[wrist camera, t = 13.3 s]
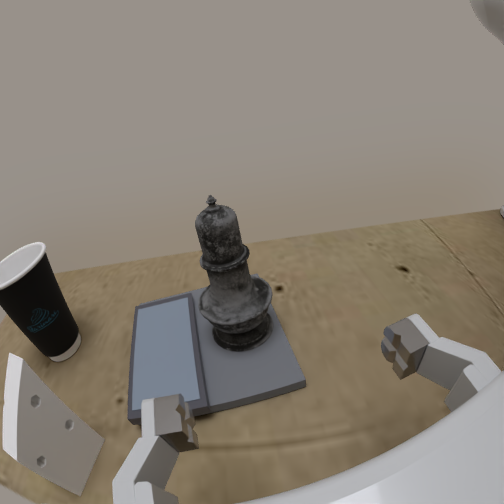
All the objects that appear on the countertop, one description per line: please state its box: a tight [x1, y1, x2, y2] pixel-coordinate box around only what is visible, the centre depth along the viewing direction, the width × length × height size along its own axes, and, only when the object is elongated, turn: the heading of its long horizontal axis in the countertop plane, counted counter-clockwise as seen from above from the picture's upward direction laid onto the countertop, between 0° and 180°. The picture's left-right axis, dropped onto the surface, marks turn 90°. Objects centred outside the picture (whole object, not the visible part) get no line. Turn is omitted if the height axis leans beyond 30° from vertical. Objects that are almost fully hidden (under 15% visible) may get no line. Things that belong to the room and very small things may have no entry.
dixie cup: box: [0, 242, 81, 362], centre depth 24 cm, size 8×8×11 cm
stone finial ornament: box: [195, 195, 273, 352], centre depth 22 cm, size 6×6×12 cm
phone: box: [128, 293, 211, 425], centre depth 23 cm, size 6×13×1 cm, turn 14°
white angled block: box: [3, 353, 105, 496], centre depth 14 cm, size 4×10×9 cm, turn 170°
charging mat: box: [139, 274, 306, 425], centre depth 25 cm, size 13×14×1 cm
